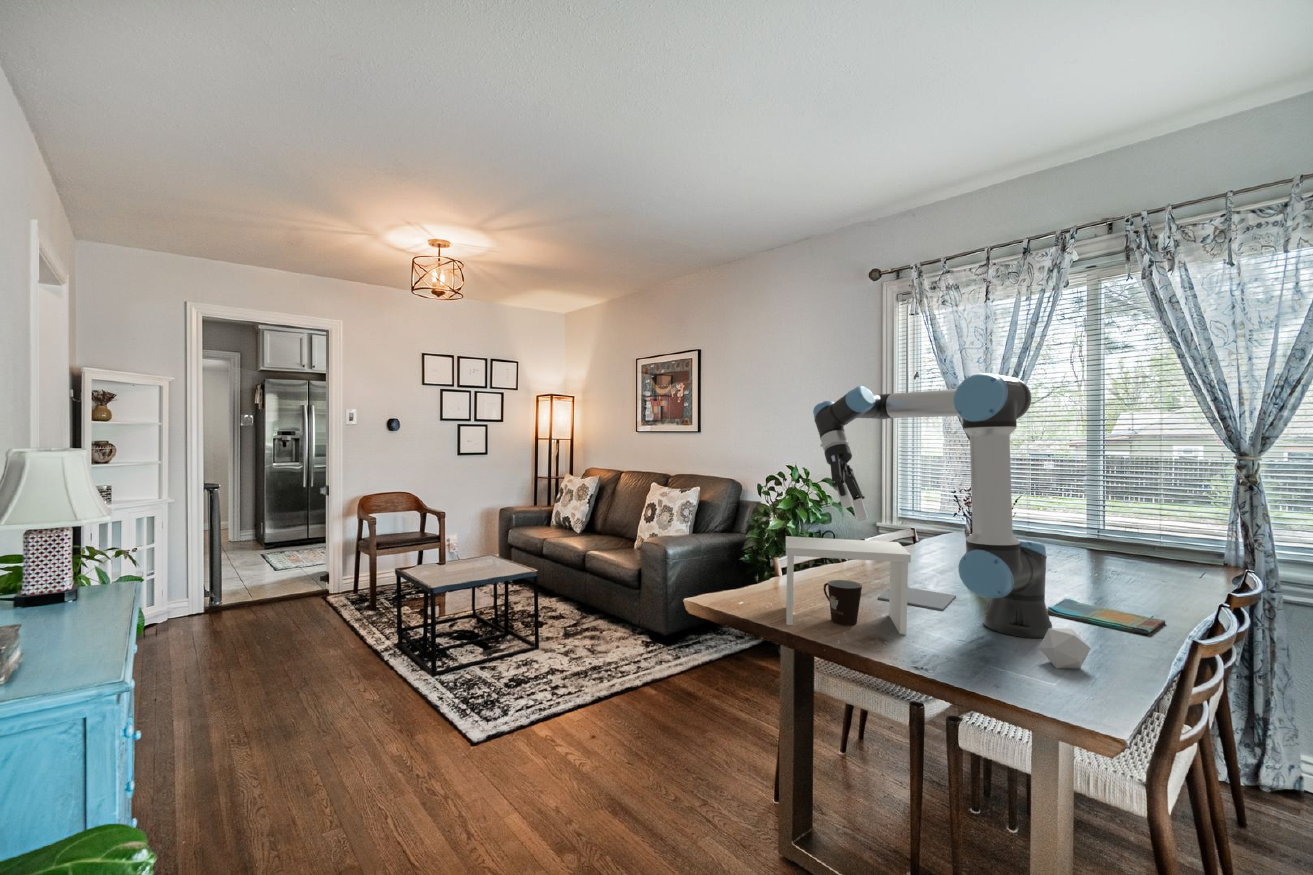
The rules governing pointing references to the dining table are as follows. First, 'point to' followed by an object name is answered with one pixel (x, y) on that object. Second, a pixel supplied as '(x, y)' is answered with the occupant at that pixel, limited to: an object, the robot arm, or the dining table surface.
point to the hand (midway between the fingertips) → (855, 513)
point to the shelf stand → (859, 552)
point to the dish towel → (1106, 617)
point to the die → (1064, 648)
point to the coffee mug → (844, 601)
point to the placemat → (924, 598)
